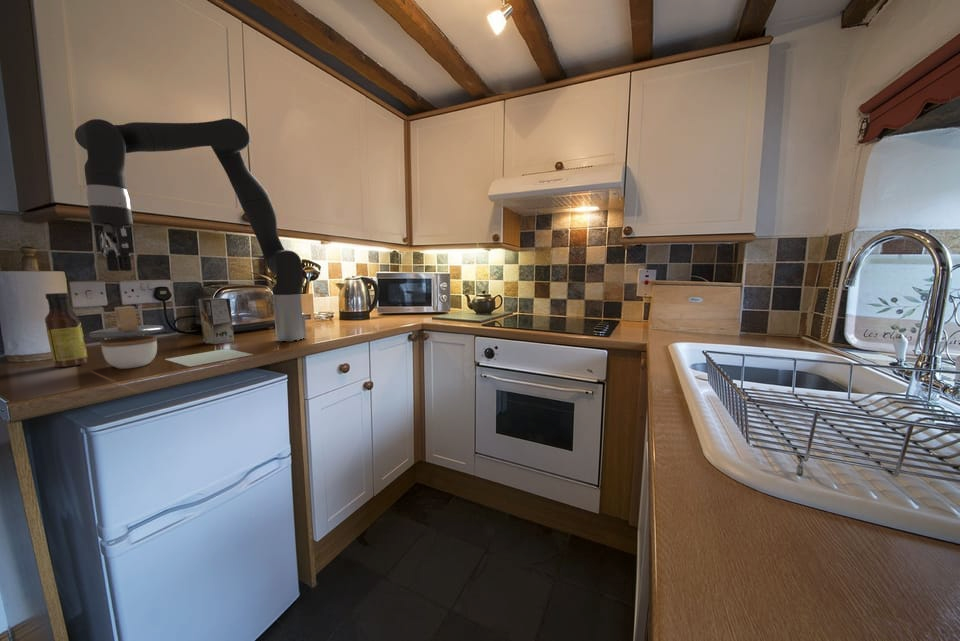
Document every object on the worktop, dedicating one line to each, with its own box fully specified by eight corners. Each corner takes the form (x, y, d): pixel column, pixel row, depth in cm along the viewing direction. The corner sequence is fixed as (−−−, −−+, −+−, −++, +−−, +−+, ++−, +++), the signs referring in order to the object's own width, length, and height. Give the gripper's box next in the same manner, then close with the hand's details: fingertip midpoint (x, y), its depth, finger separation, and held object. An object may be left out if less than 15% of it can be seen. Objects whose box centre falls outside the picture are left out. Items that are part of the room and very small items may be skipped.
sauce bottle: (95, 362, 99) (84, 292, 96) (67, 368, 92) (54, 293, 90) (74, 361, 99) (63, 292, 97) (45, 367, 93) (32, 293, 90)
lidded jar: (95, 369, 91) (90, 334, 90) (146, 360, 101) (142, 328, 100) (117, 374, 87) (112, 337, 86) (168, 363, 97) (164, 330, 96)
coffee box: (235, 341, 128) (231, 298, 126) (215, 345, 122) (210, 299, 120) (221, 339, 132) (217, 297, 130) (202, 342, 127) (197, 298, 124)
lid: (153, 326, 102) (149, 303, 101) (172, 330, 95) (168, 306, 94) (82, 334, 91) (77, 308, 90) (98, 340, 84) (93, 312, 82)
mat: (226, 349, 114) (226, 348, 114) (253, 355, 107) (253, 354, 106) (164, 360, 101) (164, 359, 101) (189, 368, 93) (189, 366, 93)
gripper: (140, 206, 88) (149, 270, 90) (120, 211, 95) (129, 271, 97) (97, 201, 82) (108, 270, 84) (80, 206, 89) (90, 271, 91)
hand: (119, 270), depth 91 cm, fingers open, 8 cm apart
